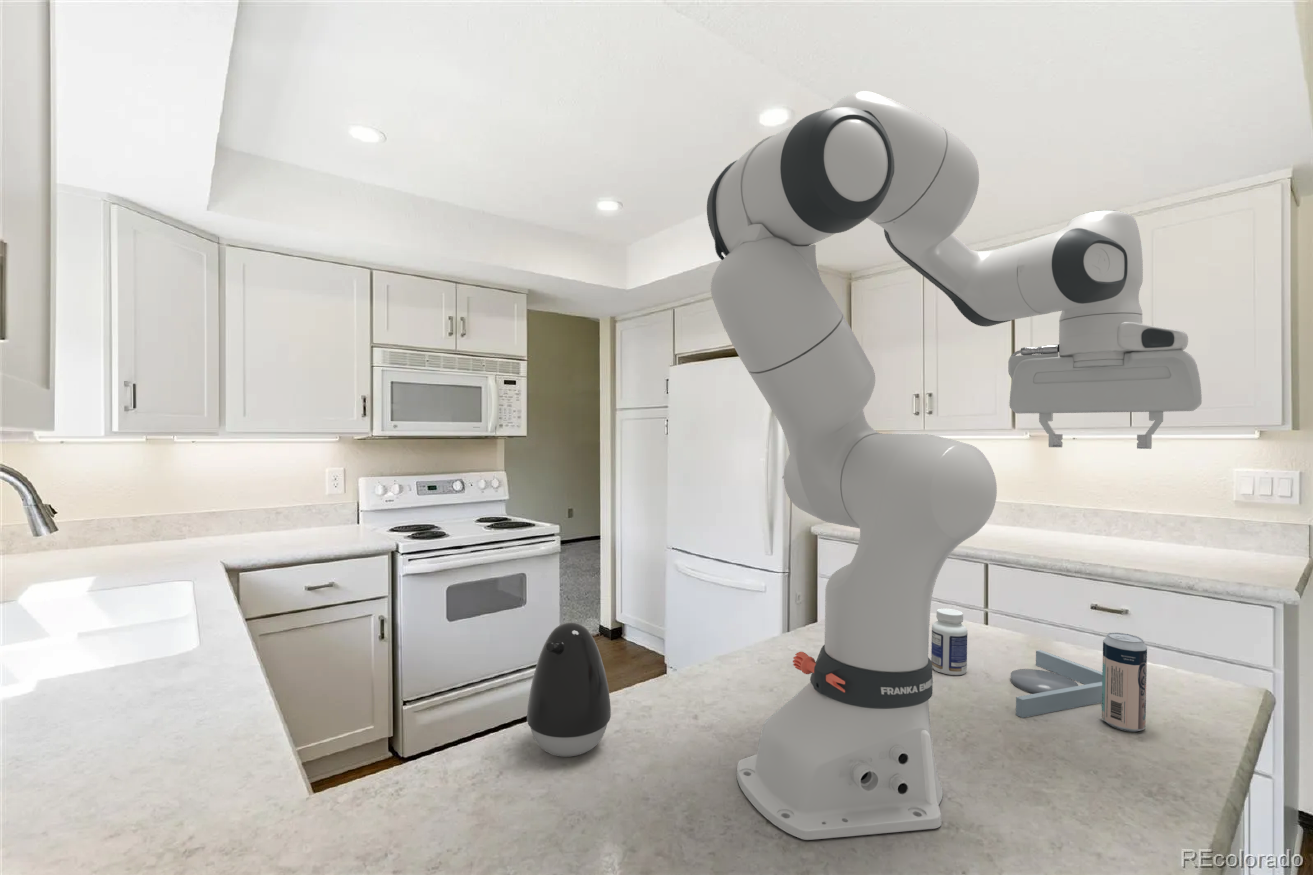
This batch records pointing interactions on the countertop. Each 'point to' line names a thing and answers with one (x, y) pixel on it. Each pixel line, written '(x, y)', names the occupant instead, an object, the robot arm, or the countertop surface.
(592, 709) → the black egg-shaped tumbler
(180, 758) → the countertop surface
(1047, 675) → the coaster
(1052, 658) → the divider wall
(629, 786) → the countertop surface
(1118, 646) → the beer can
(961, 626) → the pill bottle
